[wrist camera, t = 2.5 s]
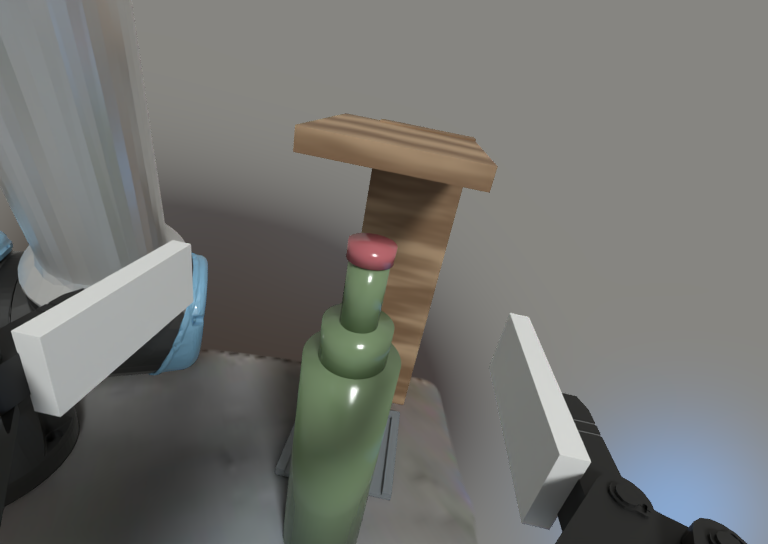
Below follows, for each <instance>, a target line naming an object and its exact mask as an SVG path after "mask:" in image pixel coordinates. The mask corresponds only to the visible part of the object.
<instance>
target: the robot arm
mask: <svg viewBox="0 0 768 544" xmlns="http://www.w3.org/2000/svg"><path fill="white" fill-rule="evenodd" d="M0 188H1V190H2V192H3V194H4V196H5V198H6V199H7V202H8V203H9V206H10V208H11V210H12V211H13V213H14V216H15V218H16V220H17V221H18V224H19V225H20V227H21V229H22V231H23V233H24V235H25V237H26V239H27V241H28V243H29V246H28V247H27V249H26V250H25V251H24V252H17V251H13V250H12V247H13V244H12V241H10V240H9V239H8V238H7V236H6V235H5V234H4V233H3V232H2V231H0V525H1V520H2V514H3V508H4V506H6V505H8V504H9V503H11V502H13V501H15V500H16V499H18V498H20V497H21V496H23V495H25V494H26V493H28V492H29V491H31V490H32V489H33V488H35V487H36V486H38V485H39V484H40V483H41V482H43V481H44V480H45V479H46V478H48V477H49V476H50V475H51V474H52V473H53V472H54V471H55V470H56V469H57V468H58V467H59V466H60V465H61V464H62V463H63V461H64V460H65V459H66V458H67V456H68V455H69V453H70V452H71V450H72V449H73V447H74V445H75V443H76V440H77V437H78V433H79V422H78V418H77V414H76V410H75V407H74V405H75V404H76V403H77V402H78V401H80V400H81V399H82V398H83V397H84V396H85V395H87V394H88V393H89V392H90V391H91V390H92V389H93V388H95V387H96V386H97V385H98V384H99V383H100V382H102V381H103V380H104V379H105V378H106V377H113V376H125V375H137V374H149V375H158V374H160V373H161V372H168V371H175V370H182V369H186V368H188V367H190V366H191V365H193V364H194V363H195V361H196V360H197V358H198V356H199V352H200V347H201V341H202V335H203V325H204V324H203V323H204V320H203V318H204V314H205V306H206V297H207V280H208V262H207V259H206V258H205V257H203V256H201V255H196V254H194V253H191V244H189V243H185V242H184V240H183V238H182V237H181V236H180V235H179V234H178V233H177V232H176V231H175V230H173V229H172V228H171V227H169V226H168V225H166V224H165V222H164V215H163V208H162V202H161V195H160V188H159V181H158V175H157V168H156V161H155V154H154V148H153V141H152V134H151V128H150V121H149V114H148V108H147V101H146V94H145V87H144V80H143V74H142V68H141V60H140V54H139V47H138V41H137V33H136V27H135V20H134V14H133V7H132V0H0ZM489 369H490V373H491V378H492V383H493V388H494V393H495V398H496V402H497V407H498V412H499V417H500V421H501V427H502V431H503V436H504V441H505V446H506V451H507V455H508V460H509V465H510V470H511V475H512V479H513V484H514V489H515V494H516V499H517V504H518V508H519V513H520V518H521V523H522V524H527V525H531V526H535V527H539V528H544V529H548V530H549V529H550V528H551V526H552V525H553V523H554V522H555V520H556V518H557V517H558V518H559V522H560V525H561V529H562V534H561V536H560V537H559V539H558V540H557V542H556V543H555V544H747V543H746V542H745V541H744V540H742V539H741V538H740V537H739V536H738V535H737V534H736V533H734V532H733V531H731V530H730V529H728V528H727V527H725V526H724V525H722V524H720V523H718V522H715V521H713V520H710V519H704V518H699V519H698V520H696V521H694V522H693V523H692V524H691V526H690V527H687V526H684V525H683V524H681V523H679V522H677V521H675V520H672V519H670V518H668V517H666V516H664V515H662V514H660V513H658V512H656V511H655V510H654V509H653V506H652V504H651V502H650V501H649V499H648V498H647V497H646V495H645V494H644V493H643V492H642V491H641V490H640V489H639V488H637V487H636V486H635V485H634V484H633V483H631V482H630V481H628V480H626V479H625V478H623V477H621V475H620V473H619V471H618V469H617V467H616V465H615V463H614V461H613V459H612V457H611V454H610V452H609V450H608V448H607V446H606V444H605V442H604V440H603V438H602V437H600V432H599V430H598V428H597V426H595V422H594V420H593V418H592V416H591V414H590V412H589V410H588V409H587V408H586V406H585V405H584V404H583V403H582V402H581V401H580V400H579V399H578V398H577V397H576V396H572V395H568V394H563V393H561V390H560V388H559V386H558V384H557V381H556V379H555V377H554V374H553V372H552V370H551V367H550V365H549V363H548V360H547V358H546V356H545V353H544V351H543V349H542V347H541V344H540V342H539V339H538V337H537V335H536V332H535V330H534V328H533V326H532V323H531V321H530V319H529V317H526V316H521V315H516V314H513V313H510V314H509V316H508V319H507V322H506V324H505V327H504V329H503V332H502V335H501V337H500V340H499V343H498V345H497V348H496V350H495V353H494V355H493V358H492V361H491V363H490V366H489Z"/></svg>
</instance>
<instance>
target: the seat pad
mask: <svg viewBox="0 0 768 544" xmlns="http://www.w3.org/2000/svg"><path fill="white" fill-rule="evenodd" d="M399 416H400V412H397V411H392V410H390V412H389V416H388V420H387V424H386V428H385V432H384V436H383V440H382V443H381V447H380V451H379V455H378V459H377V463H376V467H375V471H374V475H373V479H372V483H371V487H370V491H369V496H373V497H377V498H382V499H386V500H390V498H391V494H392V484H393V475H394V465H395V455H396V446H397V436H398V426H399ZM294 427H295V423H294V425H293V428H292V430H291V432H290V435H289V437H288V440H287V442H286V444H285V447H284V449H283V452H282V454H281V456H280V459H279V461H278V463H277V466H276V469H275V474H278V475H282V476H286V477H289V472H290V463H291V454H292V445H293V436H294Z"/></svg>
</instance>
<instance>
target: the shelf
mask: <svg viewBox="0 0 768 544" xmlns="http://www.w3.org/2000/svg"><path fill="white" fill-rule="evenodd" d="M475 141H476V139H475V138H474V137H469V136H464V135H459V134H454V133H449V132H444V131H439V130H434V129H429V128H425V127H420V126H415V125H410V124H405V123H400V122H395V121H390V120H386V119H381V120H375V119H371V118H365V117H361V116H355V115H351V114H341V115H337V116H332V117H328V118H324V119H319V120H315V121H311V122H306V123H302V124H297V125H295V136H294V148H293V151H294V152H297V153H302V154H306V155H312V156H316V157H321V158H326V159H331V160H335V161H341V162H345V163H350V164H355V165H359V166H364V167H369V168H372V173H371V180H370V185H369V191H368V197H367V203H366V209H365V215H364V221H363V227H362V233H372V234H378V235H381V236H385V237H387V238H389V239H391V240H393V241H394V242H395V243H396V244H397V246H398V248H397V252H396V257H395V262H394V265H393V267H391V268H390V271H389V276H388V280H387V285H386V290H385V295H384V300H383V304H382V309H381V310H382V311H383V312H385V313H386V314H387V315H388V316H389V317H390V318H391V319H392V321H393V323H394V327H395V328H394V334H393V338H392V342H391V343H392V344H393V345H394V346H395V348H396V349H397V351H398V352H399V355H400V357H401V369H400V373H399V377H398V381H397V385H396V389H395V392H394V396H393V400H392V403H397V404H401V405H403V404H404V401H405V397H406V393H407V390H408V386H409V382H410V379H411V375H412V371H413V367H414V364H415V360H416V357H417V353H418V349H419V345H420V342H421V338H422V335H423V331H424V327H425V324H426V320H427V316H428V313H429V309H430V305H431V302H432V298H433V294H434V291H435V287H436V283H437V280H438V276H439V272H440V269H441V265H442V261H443V258H444V254H445V250H446V247H447V243H448V239H449V236H450V232H451V228H452V225H453V221H454V218H455V214H456V210H457V207H458V203H459V199H460V196H461V192H462V188H463V187H465V188H470V189H475V190H479V191H485V192H490V190H491V186H492V183H493V180H494V177H495V173H496V170H497V165H496V164H495V163H494V162H493V161H492V160H491V159H490V158H489V157H488V155H487V154H486V153H485V152H484V151H483V150H482V149H481V147H480V146H479V145H478V144H477V143H476V142H475Z"/></svg>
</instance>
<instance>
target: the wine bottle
mask: <svg viewBox="0 0 768 544" xmlns="http://www.w3.org/2000/svg"><path fill="white" fill-rule="evenodd" d="M397 248H398V246H397V244H396V243H395V242H394V241H393V240H391V239H389V238H387V237H385V236H381V235H378V234H372V233H356V234H353V235H351V236H350V237H349V240H348V247H347V253H346V258H347V260H348V267H347V273H346V280H345V286H344V292H343V299H342V303H341V304H337V305H334V306H332V307H331V308H329V309H327V310H326V311H325V313H324V314H323V317H322V325H321V331H319V332H317V333H316V334H314V335H313V336H311V337H310V338H309V339H308V340H307V342H306V343H305V345H304V348H303V353H302V362H301V372H300V381H299V390H298V399H297V408H296V417H295V427H294V436H293V445H292V454H291V463H290V472H289V481H288V491H287V500H286V509H285V518H284V527H283V540H284V544H356V542H357V538H358V534H359V530H360V526H361V522H362V518H363V514H364V510H365V506H366V502H367V498H368V495H369V491H370V487H371V483H372V479H373V475H374V471H375V467H376V463H377V459H378V455H379V451H380V447H381V443H382V440H383V436H384V432H385V428H386V424H387V420H388V416H389V412H390V408H391V404H392V400H393V396H394V392H395V389H396V385H397V381H398V377H399V373H400V369H401V357H400V355H399V352H398V351H397V349H396V348H395V346H394V345H393V344H392V343H391V342H392V338H393V334H394V328H395V327H394V323H393V321H392V319H391V318H390V317H389V316H388V315H387V314H386V313H385V312H383V311H382V310H381V309H382V304H383V300H384V295H385V290H386V285H387V280H388V276H389V271H390V268H391V267H393V265H394V262H395V257H396V252H397Z"/></svg>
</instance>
